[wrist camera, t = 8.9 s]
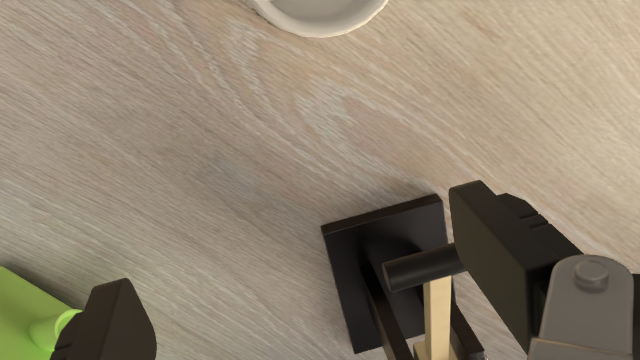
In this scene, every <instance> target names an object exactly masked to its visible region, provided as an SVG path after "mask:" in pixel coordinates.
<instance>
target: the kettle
mask: <svg viewBox="0 0 640 360" xmlns="http://www.w3.org/2000/svg"><path fill="white" fill-rule="evenodd" d="M79 312H82V310H78V309H72V308H71V307H69V306H67V305H66V304H64V303H62V302H61V301H59V300H57V299H56V298H54V297H52V296H51V295H49V294H47V293H46V292H44V291H42V290H41V289H39V288H37V287H36V286H34V285H33V284H31V283H29V282H28V281H26V280H24V279H23V278H21V277H19V276H18V275H16V274H14V273H13V272H11V271H9V270H8V269H6V268H4V267H3V266H0V360H49V359H50V357H51V354H52V352H54V351H55V350H54V347H55V345H56V342H57V340H58V337H59V335H60V332H61V330H62V329H63V328H64V327H65V326H66V324H67V323H68V322H69V321H70V320H71V319H72V317H73V316H74V315H75V314H76V313H79Z"/></svg>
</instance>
